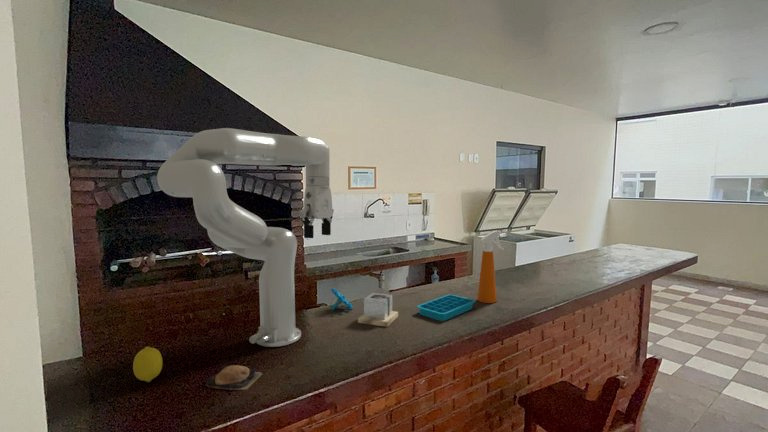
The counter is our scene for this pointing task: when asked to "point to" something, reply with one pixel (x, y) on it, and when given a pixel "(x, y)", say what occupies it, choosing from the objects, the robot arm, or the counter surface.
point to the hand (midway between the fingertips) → (317, 236)
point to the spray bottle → (488, 269)
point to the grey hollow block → (378, 306)
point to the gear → (340, 300)
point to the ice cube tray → (446, 307)
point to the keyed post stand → (378, 321)
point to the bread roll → (233, 378)
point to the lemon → (147, 364)
